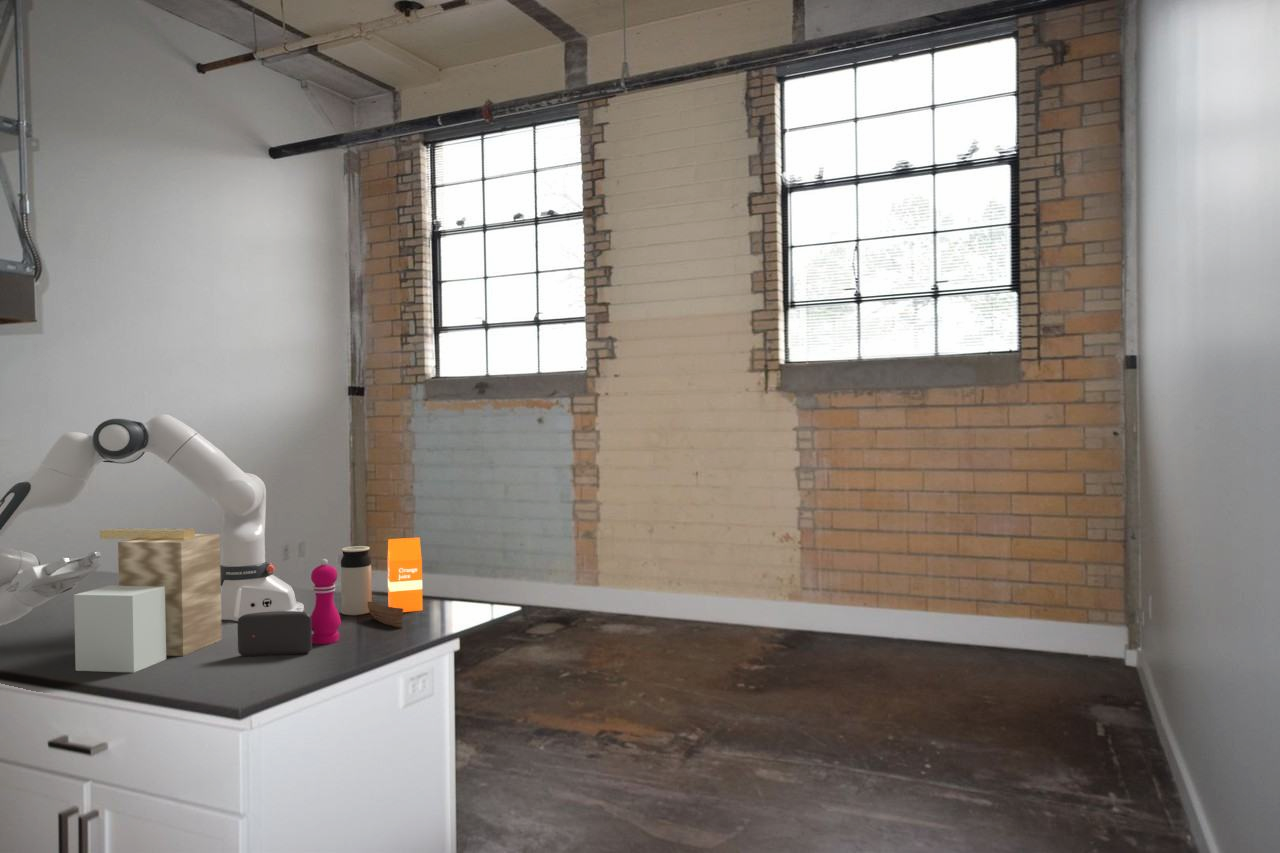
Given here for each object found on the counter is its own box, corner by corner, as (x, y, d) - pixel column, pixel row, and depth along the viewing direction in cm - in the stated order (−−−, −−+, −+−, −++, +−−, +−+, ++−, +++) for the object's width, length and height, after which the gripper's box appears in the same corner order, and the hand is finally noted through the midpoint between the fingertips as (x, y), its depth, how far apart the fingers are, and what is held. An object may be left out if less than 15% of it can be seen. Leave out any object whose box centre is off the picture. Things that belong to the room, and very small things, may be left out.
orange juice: (388, 607, 243) (386, 537, 243) (419, 604, 246) (418, 535, 246) (390, 613, 236) (389, 541, 236) (423, 610, 239) (421, 539, 239)
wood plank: (407, 627, 220) (406, 608, 220) (400, 628, 218) (399, 609, 218) (373, 618, 230) (373, 600, 230) (366, 620, 228) (366, 601, 228)
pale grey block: (75, 670, 185) (74, 594, 185) (110, 657, 195) (109, 585, 195) (134, 672, 183) (132, 595, 183) (166, 659, 193) (164, 586, 193)
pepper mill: (307, 646, 202) (306, 562, 202) (311, 638, 209) (309, 557, 209) (340, 643, 204) (338, 560, 204) (342, 636, 211) (340, 555, 211)
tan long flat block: (99, 538, 204) (99, 530, 204) (112, 536, 208) (112, 528, 208) (183, 539, 201) (183, 530, 201) (195, 537, 205) (194, 528, 204)
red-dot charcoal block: (316, 649, 200) (315, 609, 200) (310, 654, 195) (309, 613, 195) (244, 652, 198) (243, 611, 198) (236, 657, 194) (236, 616, 194)
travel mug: (372, 614, 235) (371, 549, 235) (342, 617, 232) (341, 551, 232) (370, 608, 242) (369, 545, 242) (341, 611, 239) (339, 547, 239)
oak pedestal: (120, 654, 198) (118, 542, 197) (162, 638, 212) (160, 533, 211) (183, 655, 195) (181, 542, 195) (221, 640, 209) (219, 534, 209)
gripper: (-5, 580, 198) (40, 552, 196) (66, 566, 218) (108, 539, 217) (7, 604, 198) (53, 576, 196) (77, 587, 218) (119, 561, 216)
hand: (82, 556), depth 207 cm, fingers open, 8 cm apart
